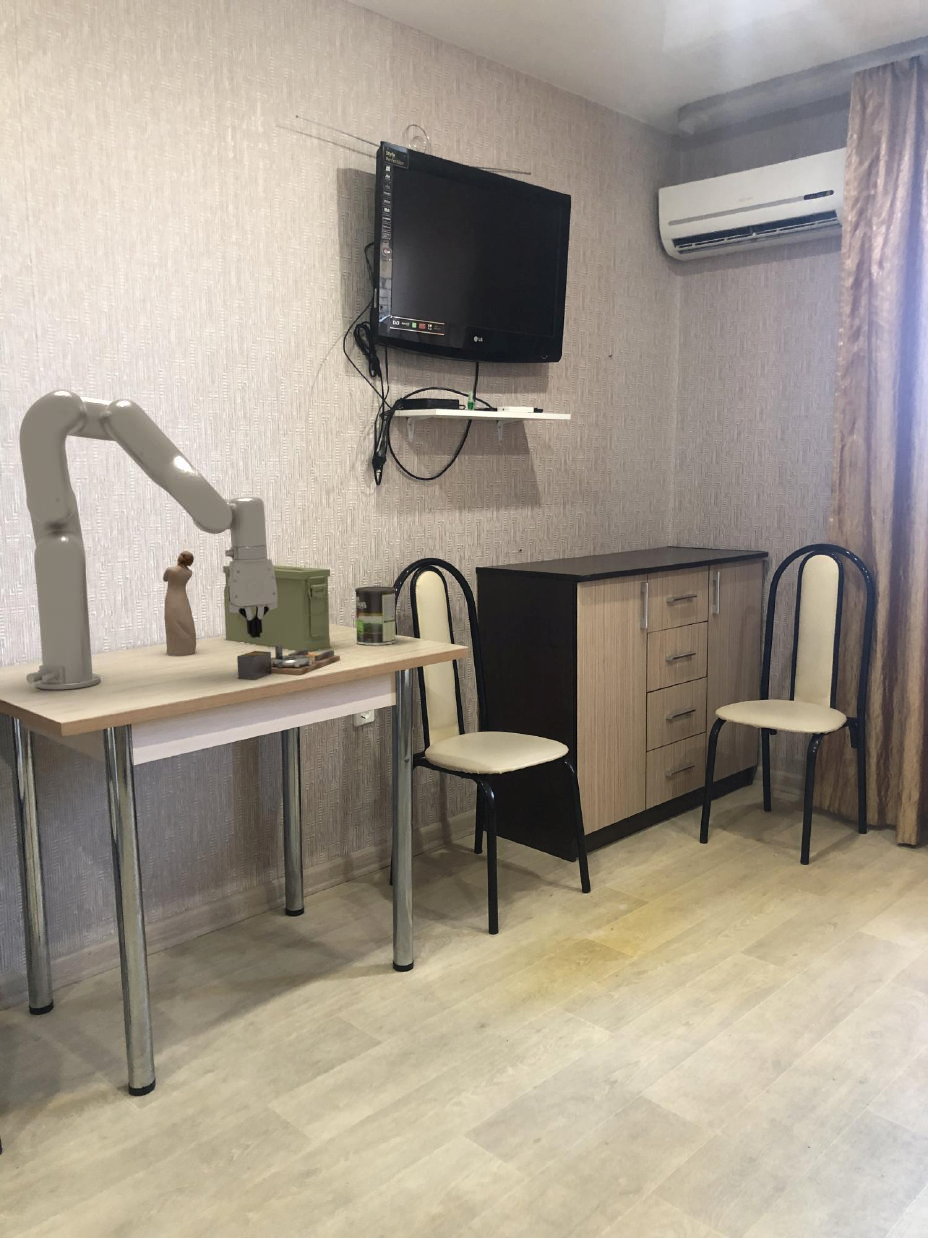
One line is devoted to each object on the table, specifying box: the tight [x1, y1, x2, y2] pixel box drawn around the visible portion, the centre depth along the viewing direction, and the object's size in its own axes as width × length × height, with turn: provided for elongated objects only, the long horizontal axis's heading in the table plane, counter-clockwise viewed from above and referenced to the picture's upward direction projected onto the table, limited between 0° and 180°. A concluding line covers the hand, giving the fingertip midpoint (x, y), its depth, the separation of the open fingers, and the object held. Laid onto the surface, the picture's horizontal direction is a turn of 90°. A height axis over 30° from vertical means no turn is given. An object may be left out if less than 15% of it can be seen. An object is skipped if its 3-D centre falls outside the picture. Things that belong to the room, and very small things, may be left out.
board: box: [271, 649, 341, 676], centre depth 225 cm, size 19×11×2 cm, turn 160°
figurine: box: [162, 550, 197, 657], centre depth 241 cm, size 8×8×25 cm
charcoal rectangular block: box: [236, 650, 273, 681], centre depth 213 cm, size 7×4×5 cm, turn 161°
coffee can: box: [354, 586, 397, 646], centre depth 255 cm, size 10×10×14 cm
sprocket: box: [271, 646, 313, 667], centre depth 220 cm, size 10×10×4 cm
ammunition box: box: [222, 564, 332, 653], centre depth 254 cm, size 10×33×20 cm, turn 50°
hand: (255, 636), depth 219 cm, fingers closed
